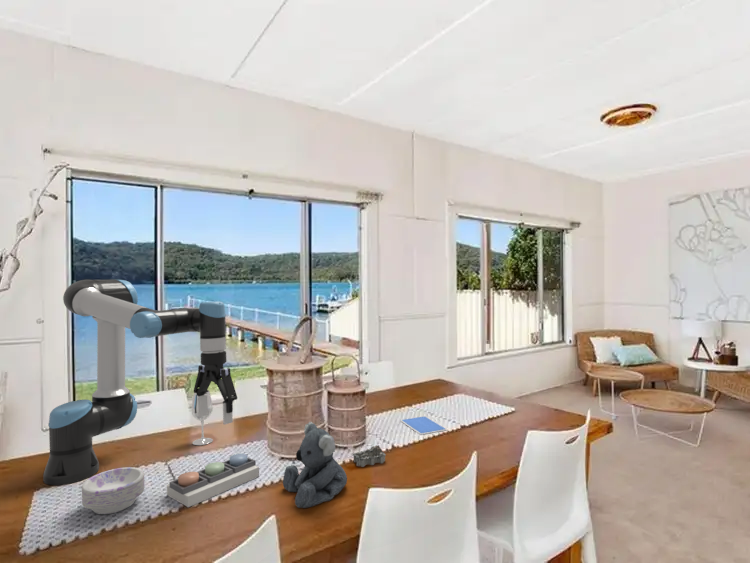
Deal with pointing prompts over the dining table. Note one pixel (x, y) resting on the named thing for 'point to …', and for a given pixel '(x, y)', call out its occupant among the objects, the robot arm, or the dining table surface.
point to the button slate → (238, 459)
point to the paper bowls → (113, 490)
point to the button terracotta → (188, 478)
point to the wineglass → (196, 415)
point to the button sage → (214, 468)
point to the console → (213, 483)
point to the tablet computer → (423, 425)
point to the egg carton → (369, 456)
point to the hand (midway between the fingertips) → (215, 419)
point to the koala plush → (315, 469)
